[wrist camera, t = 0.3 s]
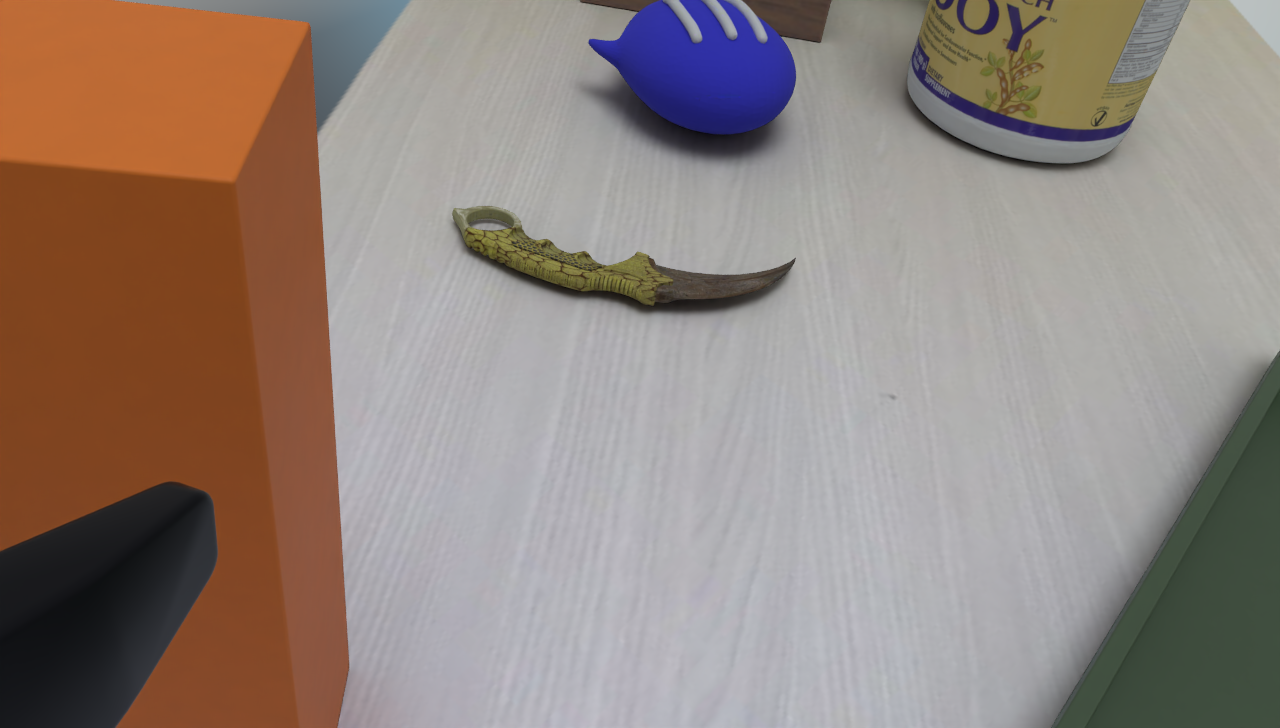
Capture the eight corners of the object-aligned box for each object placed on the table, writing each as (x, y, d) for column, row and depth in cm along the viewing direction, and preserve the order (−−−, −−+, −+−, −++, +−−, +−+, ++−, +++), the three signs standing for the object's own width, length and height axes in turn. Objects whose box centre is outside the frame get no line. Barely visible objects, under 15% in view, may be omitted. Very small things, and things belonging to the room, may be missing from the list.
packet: (313, 849, 26) (235, 180, 14) (42, 841, 25) (-271, 131, 14) (349, 666, 29) (310, 20, 18) (115, 653, 29) (-80, -24, 17)
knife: (798, 248, 46) (802, 312, 42) (793, 266, 47) (797, 332, 43) (457, 193, 46) (429, 252, 42) (456, 212, 47) (428, 272, 43)
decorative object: (604, -68, 55) (790, -22, 58) (577, 39, 59) (752, 77, 62) (619, 30, 48) (832, 77, 50) (586, 145, 51) (786, 184, 54)
